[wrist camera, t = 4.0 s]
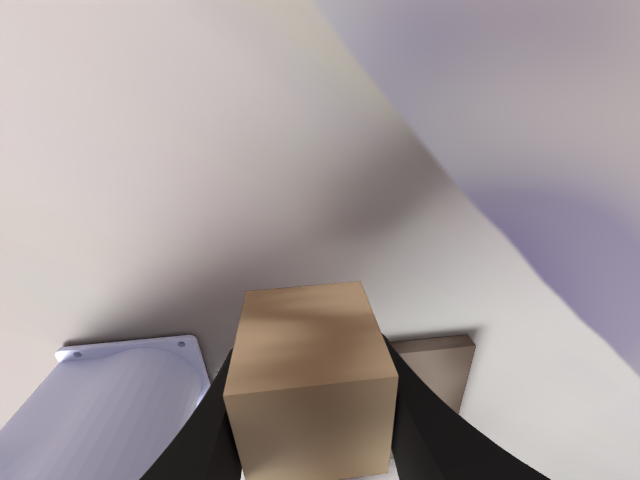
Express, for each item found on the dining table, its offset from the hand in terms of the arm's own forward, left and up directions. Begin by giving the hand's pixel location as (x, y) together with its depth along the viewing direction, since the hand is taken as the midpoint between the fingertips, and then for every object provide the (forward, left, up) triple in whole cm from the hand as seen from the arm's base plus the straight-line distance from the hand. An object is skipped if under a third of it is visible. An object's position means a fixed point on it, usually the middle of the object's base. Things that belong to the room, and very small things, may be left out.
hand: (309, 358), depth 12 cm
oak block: (0, 0, -2) cm, 2 cm away
